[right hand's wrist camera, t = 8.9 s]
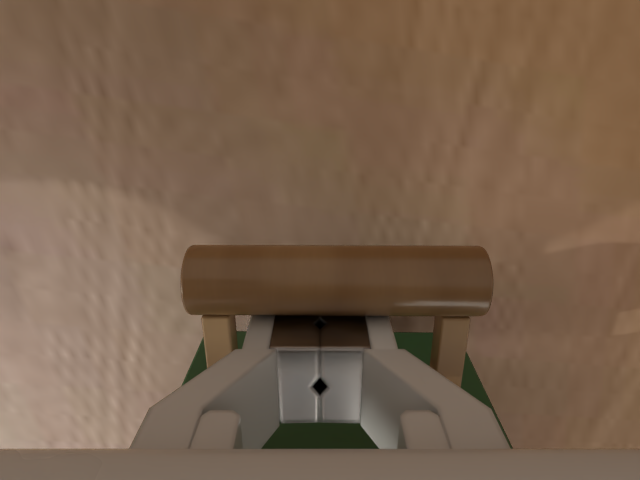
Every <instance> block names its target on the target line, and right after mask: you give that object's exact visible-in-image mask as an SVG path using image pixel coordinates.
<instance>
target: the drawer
mask: <svg viewBox="0 0 640 480" xmlns="http://www.w3.org/2000/svg"><path fill="white" fill-rule="evenodd" d="M492 295H493V273H492V266H491V262H490V259H489V256H488V254H487V252H486V250H485V249H484V248H482V247H480V246H335V245H192V246H190V247H189V248H188V249H187V251H186V253H185V256H184V260H183V264H182V270H181V296H182V301H183V305H184V308H185V310H186V312H187V313H189V314H191V315H202V318H201V320H202V328H203V339H202V341H201V344H200V346H199V348H198V350H197V352H196V355H195V357H194V359H193V361H192V364H191V366H190V368H189V370H188V373H187V375H186V377H185V379H184V381H183V384H182V386H183V385H184V384H186V383H187V382H188V381H190V380H191V379H193V378H194V377H196V376H197V375H199V374H200V373H202V372H203V371H204V370H206V369H207V368H209V367H210V366H212V365H213V364H215V363H216V362H218V361H219V360H220V359H222V358H223V357H225V356H226V355H228V354H229V353H231V352H232V351H234V350H235V349H242V347H243V343H244V340H245V336H246V332H247V331H236V320H235V315H314V316H435V321H434V330H433V333H431V332H393V333H394V336H395V340H396V343H397V347H398V349H405V350H407V351H408V352H409V353H411V354H412V355H414V356H415V357H417V358H418V359H420V360H421V361H422V362H424V363H425V364H427V365H428V366H430V367H431V368H433V369H434V370H435V371H437V372H438V373H440V374H441V375H443V376H444V377H446V378H447V379H449V380H450V381H451V382H453V383H454V384H456V385H457V386H459V387H460V388H462V389H463V390H464V391H466V392H467V393H469V394H470V395H472V396H473V397H475V398H476V399H477V400H479V401H480V402H482V403H483V404H485V405H486V406H488V407H489V408H491V410H492V412H493V414H494V416H495V418H496V420H497V422H498V424H499V426H500V428H501V430H502V432H503V434H504V436H505V438H506V440H507V442H508V444H509V446H510V448H511V449H513V448H512V446H511V444H510V442H509V439H508V437H507V435H506V433H505V431H504V429H503V427H502V425H501V423H500V421H499V419H498V417H497V414H496V412H495V410H494V408H493V406H492V404H491V402H490V400H489V398H488V396H487V394H486V392H485V389H484V387H483V385H482V383H481V381H480V379H479V377H478V375H477V373H476V371H475V369H474V367H473V365H472V362H471V360H470V358H469V356H468V354H467V352H466V347H467V340H468V333H469V326H470V318H469V316H483V315H485V314H486V313H487V312H488V310H489V308H490V305H491V301H492ZM279 425H280V426H279V427H278V428H277V429H276V431H275V432H274V433H273V434H272V436H271V437H270V438H269V439H268V441H267V442H266V443H265V444H264V446H263V447H262V448H261V449H379V448H378V447H377V445H376V444H375V443H374V442H373V440H372V439H371V438H370V437H369V435H368V434H367V433H366V432H365V430H364V429H363V428H362V427H361V423H324V422H315V423H279Z"/></svg>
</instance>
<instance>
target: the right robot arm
mask: <svg viewBox="0 0 640 480" xmlns="http://www.w3.org/2000/svg"><path fill="white" fill-rule="evenodd" d="M315 422H324V423H361V427H362V428H363V429H364V430H365V432H366V433H367V434H368V435H369V437H370V438H371V439H372V440H373V442H374V443H375V444H376V445H377V447H378V448H379V449H261V448H262V447H263V446H264V444H265V443H266V442H267V441H268V439H269V438H270V437H271V436H272V434H273V433H274V432H275V431H276V429H277V428H278V427H279V426H280V425H279V423H315ZM0 480H640V449H511V448H510V446H509V444H508V442H507V440H506V438H505V436H504V434H503V432H502V430H501V428H500V426H499V424H498V422H497V420H496V418H495V416H494V414H493V412H492V410H491V408H489V407H488V406H486V405H485V404H483V403H482V402H480V401H479V400H477V399H476V398H475V397H473V396H472V395H470V394H469V393H467V392H466V391H464V390H463V389H462V388H460V387H459V386H457V385H456V384H454V383H453V382H451V381H450V380H449V379H447V378H446V377H444V376H443V375H441V374H440V373H438V372H437V371H435V370H434V369H433V368H431V367H430V366H428V365H427V364H425V363H424V362H422V361H421V360H420V359H418V358H417V357H415V356H414V355H412V354H411V353H409V352H408V351H407V350H405V349H398V347H397V343H396V340H395V336H394V333H393V329H392V325H391V322H390V318H389V316H314V315H251V318H250V321H249V325H248V329H247V332H246V336H245V340H244V343H243V347H242V349H235V350H234V351H232V352H231V353H229V354H228V355H226V356H225V357H223V358H222V359H220V360H219V361H218V362H216V363H215V364H213V365H212V366H210V367H209V368H207V369H206V370H204V371H203V372H202V373H200V374H199V375H197V376H196V377H194V378H193V379H191V380H190V381H188V382H187V383H186V384H184V385H183V386H181V387H180V388H178V389H177V390H175V391H174V392H172V393H171V394H169V395H168V396H167V397H165V398H164V399H162V400H161V401H159V402H158V403H156V404H155V405H153V406H152V407H151V408H149V410H148V412H147V414H146V416H145V418H144V420H143V422H142V424H141V426H140V428H139V430H138V432H137V434H136V436H135V438H134V440H133V442H132V444H131V446H130V448H129V449H0Z"/></svg>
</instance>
